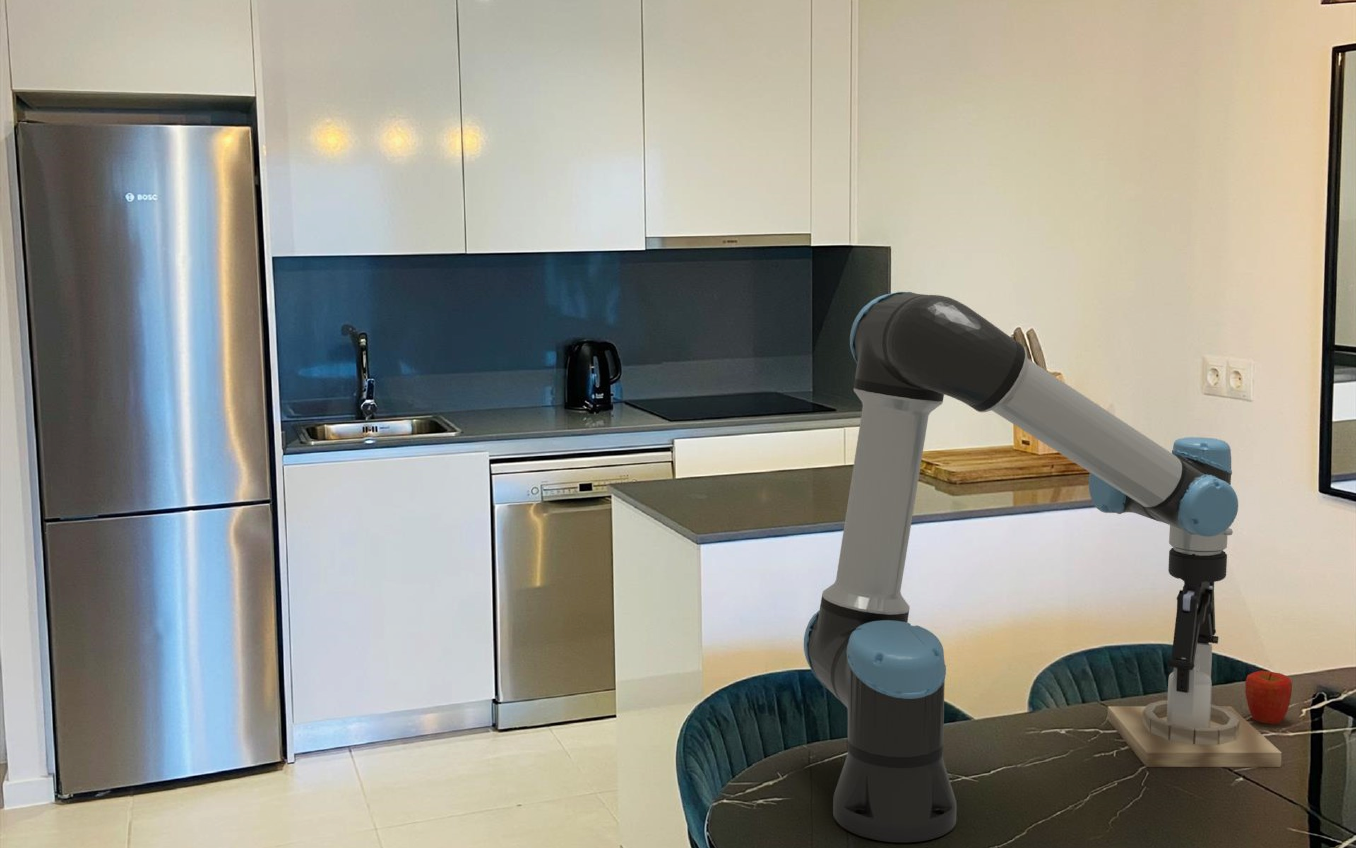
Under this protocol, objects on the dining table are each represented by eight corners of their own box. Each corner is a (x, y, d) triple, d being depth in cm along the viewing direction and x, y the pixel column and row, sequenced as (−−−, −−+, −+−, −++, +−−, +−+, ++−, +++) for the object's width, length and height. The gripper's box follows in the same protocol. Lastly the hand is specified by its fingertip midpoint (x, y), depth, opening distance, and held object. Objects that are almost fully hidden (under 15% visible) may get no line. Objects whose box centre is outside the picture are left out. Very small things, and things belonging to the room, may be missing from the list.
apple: (1255, 730, 191) (1258, 680, 190) (1236, 715, 197) (1238, 666, 196) (1298, 729, 191) (1300, 679, 190) (1277, 714, 198) (1280, 666, 197)
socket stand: (1146, 766, 178) (1147, 738, 178) (1107, 719, 196) (1108, 693, 196) (1280, 767, 178) (1282, 738, 177) (1229, 719, 196) (1231, 693, 195)
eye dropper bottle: (1203, 736, 184) (1207, 653, 182) (1162, 728, 187) (1166, 646, 185) (1213, 727, 187) (1216, 645, 185) (1173, 719, 190) (1176, 638, 189)
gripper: (1210, 570, 171) (1203, 731, 174) (1241, 535, 191) (1234, 680, 194) (1150, 564, 175) (1144, 721, 178) (1187, 530, 195) (1181, 672, 198)
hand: (1191, 700), depth 186 cm, fingers open, 11 cm apart
